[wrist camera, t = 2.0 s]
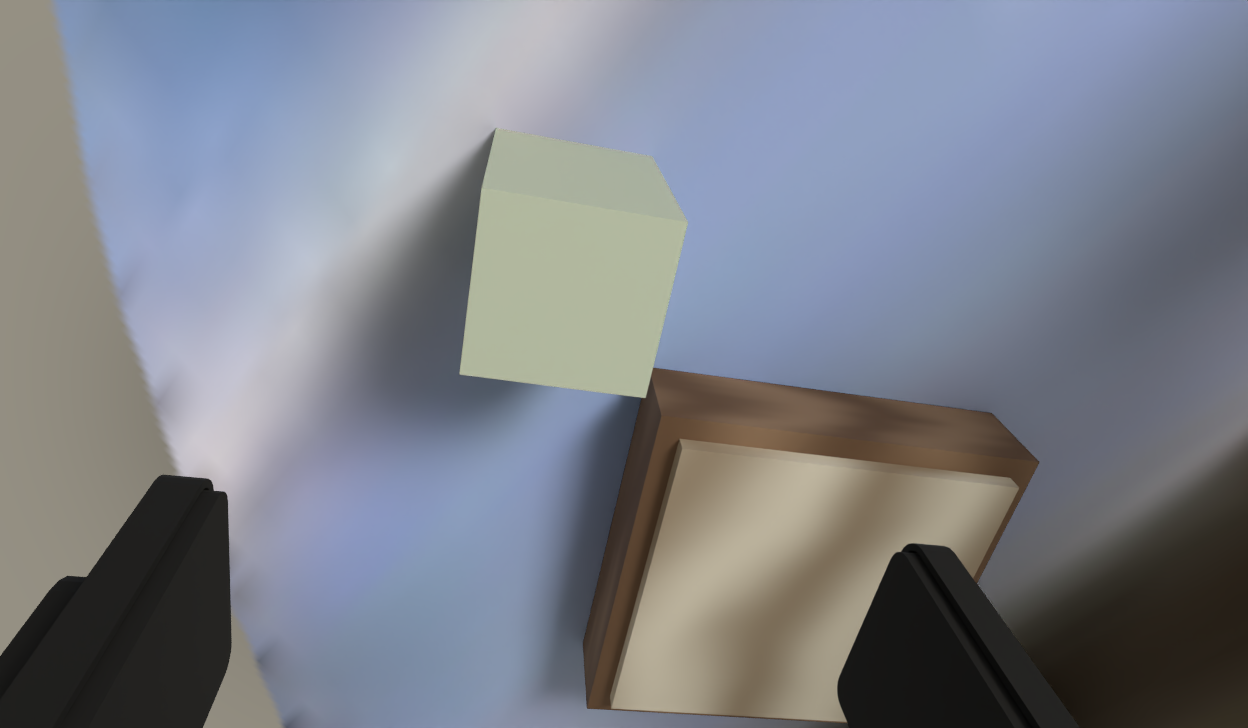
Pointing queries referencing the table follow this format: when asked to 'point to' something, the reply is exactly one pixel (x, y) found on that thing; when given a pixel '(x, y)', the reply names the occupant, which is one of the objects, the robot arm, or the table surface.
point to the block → (570, 266)
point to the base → (777, 538)
